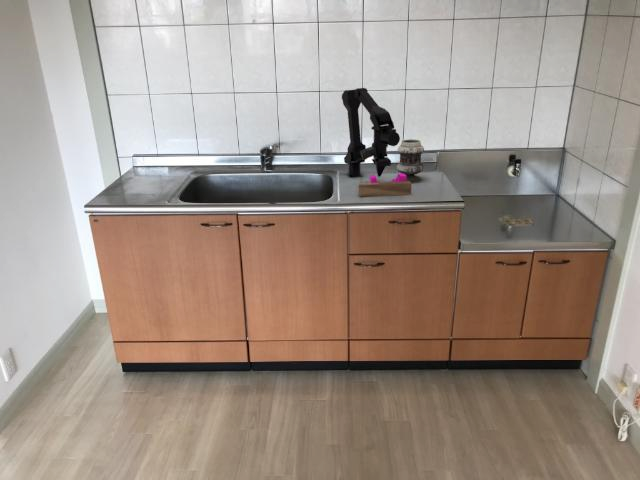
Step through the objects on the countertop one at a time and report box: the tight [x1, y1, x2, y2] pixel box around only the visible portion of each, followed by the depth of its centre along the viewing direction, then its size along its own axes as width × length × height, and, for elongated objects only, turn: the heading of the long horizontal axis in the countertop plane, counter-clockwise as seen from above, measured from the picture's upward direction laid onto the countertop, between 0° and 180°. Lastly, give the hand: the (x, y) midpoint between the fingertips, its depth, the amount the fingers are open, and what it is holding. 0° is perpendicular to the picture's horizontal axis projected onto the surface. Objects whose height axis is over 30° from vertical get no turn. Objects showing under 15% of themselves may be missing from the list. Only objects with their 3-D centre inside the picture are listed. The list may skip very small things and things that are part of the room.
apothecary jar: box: [396, 138, 425, 183], centre depth 231 cm, size 12×12×18 cm
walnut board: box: [357, 181, 412, 198], centre depth 214 cm, size 3×22×5 cm, turn 96°
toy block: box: [369, 173, 406, 183], centre depth 218 cm, size 15×6×8 cm, turn 96°
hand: (379, 176), depth 224 cm, fingers closed
